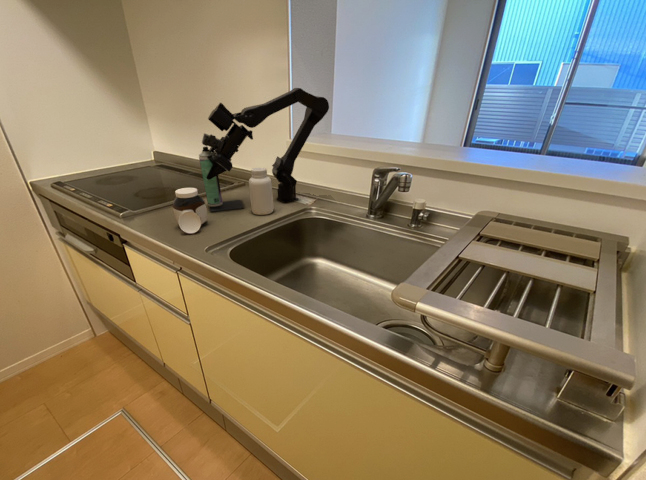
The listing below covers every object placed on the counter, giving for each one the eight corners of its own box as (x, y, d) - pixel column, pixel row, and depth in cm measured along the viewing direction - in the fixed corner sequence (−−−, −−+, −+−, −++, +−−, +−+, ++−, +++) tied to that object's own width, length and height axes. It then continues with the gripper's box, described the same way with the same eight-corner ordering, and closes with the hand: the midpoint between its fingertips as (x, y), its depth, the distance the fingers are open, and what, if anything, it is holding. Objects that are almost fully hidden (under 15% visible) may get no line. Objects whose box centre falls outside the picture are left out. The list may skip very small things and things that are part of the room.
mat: (239, 200, 136) (239, 199, 136) (243, 208, 128) (243, 207, 128) (209, 204, 133) (209, 203, 133) (211, 212, 125) (211, 211, 125)
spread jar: (200, 218, 120) (193, 185, 113) (218, 226, 113) (212, 191, 107) (168, 228, 113) (159, 193, 106) (186, 237, 106) (178, 200, 100)
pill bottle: (254, 207, 129) (250, 166, 120) (275, 208, 128) (273, 166, 119) (249, 215, 122) (244, 171, 114) (271, 215, 121) (268, 172, 113)
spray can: (225, 202, 129) (216, 145, 118) (216, 207, 125) (206, 148, 114) (214, 201, 131) (204, 145, 120) (205, 205, 127) (193, 147, 116)
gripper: (210, 120, 121) (185, 156, 125) (216, 127, 107) (188, 167, 110) (235, 142, 128) (211, 176, 131) (244, 151, 113) (216, 189, 117)
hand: (206, 177), depth 122 cm, fingers closed on spray can, 5 cm apart
